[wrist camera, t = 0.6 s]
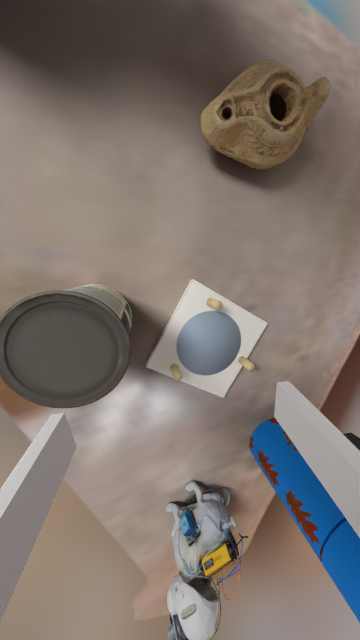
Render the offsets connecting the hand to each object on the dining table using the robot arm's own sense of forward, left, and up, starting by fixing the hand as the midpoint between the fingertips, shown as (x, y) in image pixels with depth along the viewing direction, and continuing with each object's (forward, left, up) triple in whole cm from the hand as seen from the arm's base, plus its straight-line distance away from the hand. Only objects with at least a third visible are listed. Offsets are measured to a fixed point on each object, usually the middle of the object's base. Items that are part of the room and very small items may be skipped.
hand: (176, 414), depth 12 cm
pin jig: (-2, +10, -20) cm, 23 cm away
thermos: (+11, +35, -21) cm, 42 cm away
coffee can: (+2, -8, -21) cm, 22 cm away
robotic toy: (+32, +26, -21) cm, 46 cm away
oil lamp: (-31, -1, -21) cm, 37 cm away
